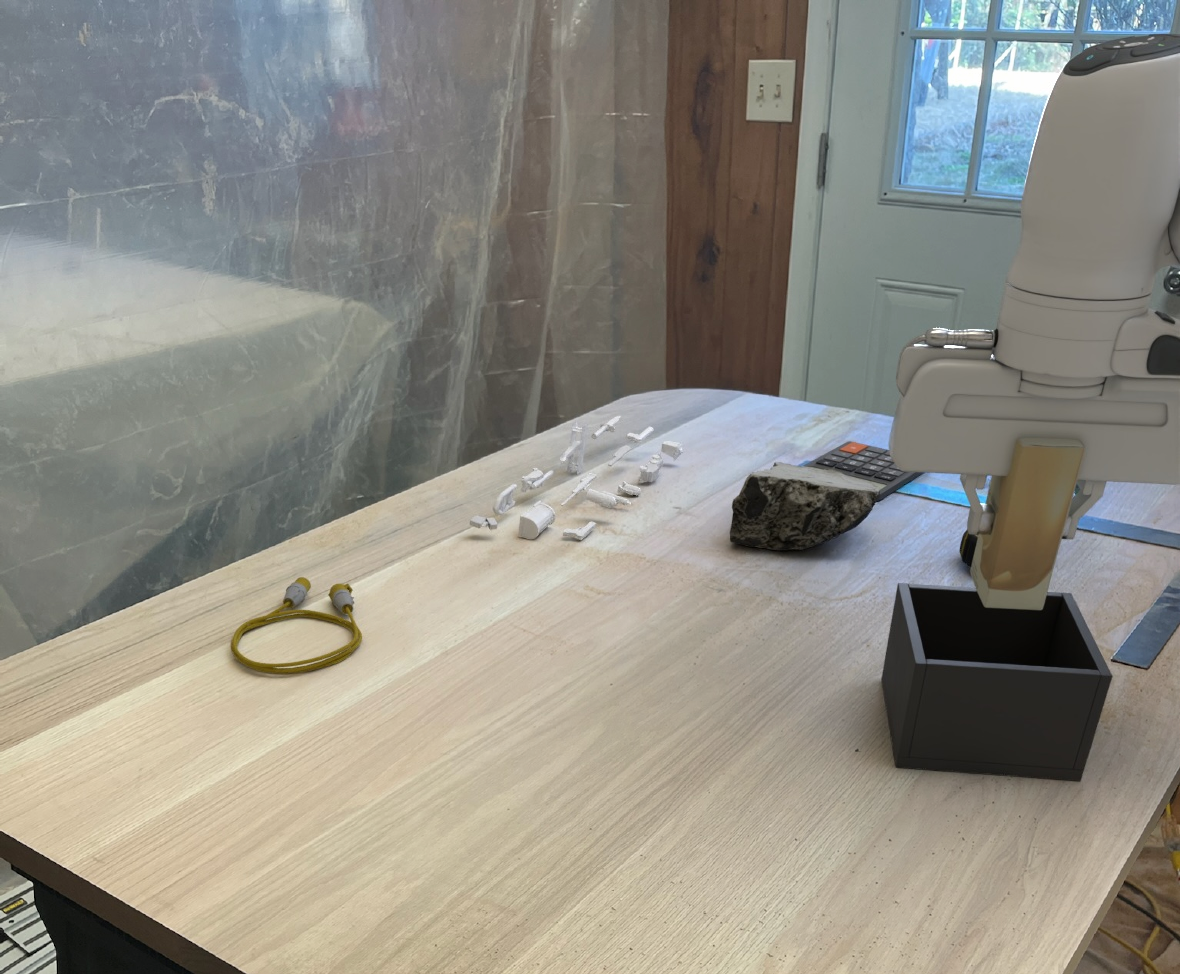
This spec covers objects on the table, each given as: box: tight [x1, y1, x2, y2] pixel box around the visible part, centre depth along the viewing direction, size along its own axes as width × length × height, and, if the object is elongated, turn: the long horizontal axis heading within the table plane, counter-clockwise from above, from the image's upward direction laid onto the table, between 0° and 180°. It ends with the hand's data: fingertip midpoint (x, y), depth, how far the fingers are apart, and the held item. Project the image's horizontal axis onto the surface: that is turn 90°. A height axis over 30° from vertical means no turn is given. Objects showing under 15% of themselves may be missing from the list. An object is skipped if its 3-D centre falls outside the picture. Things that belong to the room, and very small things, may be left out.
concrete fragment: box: [729, 461, 880, 551], centre depth 121 cm, size 15×10×15 cm
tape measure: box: [958, 529, 979, 569], centre depth 116 cm, size 7×7×4 cm
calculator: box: [802, 441, 925, 502], centre depth 139 cm, size 12×1×15 cm
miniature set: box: [469, 415, 684, 541], centre depth 132 cm, size 6×35×12 cm
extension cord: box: [230, 576, 363, 675], centre depth 104 cm, size 12×16×2 cm
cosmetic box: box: [970, 438, 1086, 610], centre depth 82 cm, size 6×4×12 cm
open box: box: [881, 582, 1113, 782], centre depth 89 cm, size 14×14×9 cm
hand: (1019, 534), depth 83 cm, fingers closed on cosmetic box, 4 cm apart
